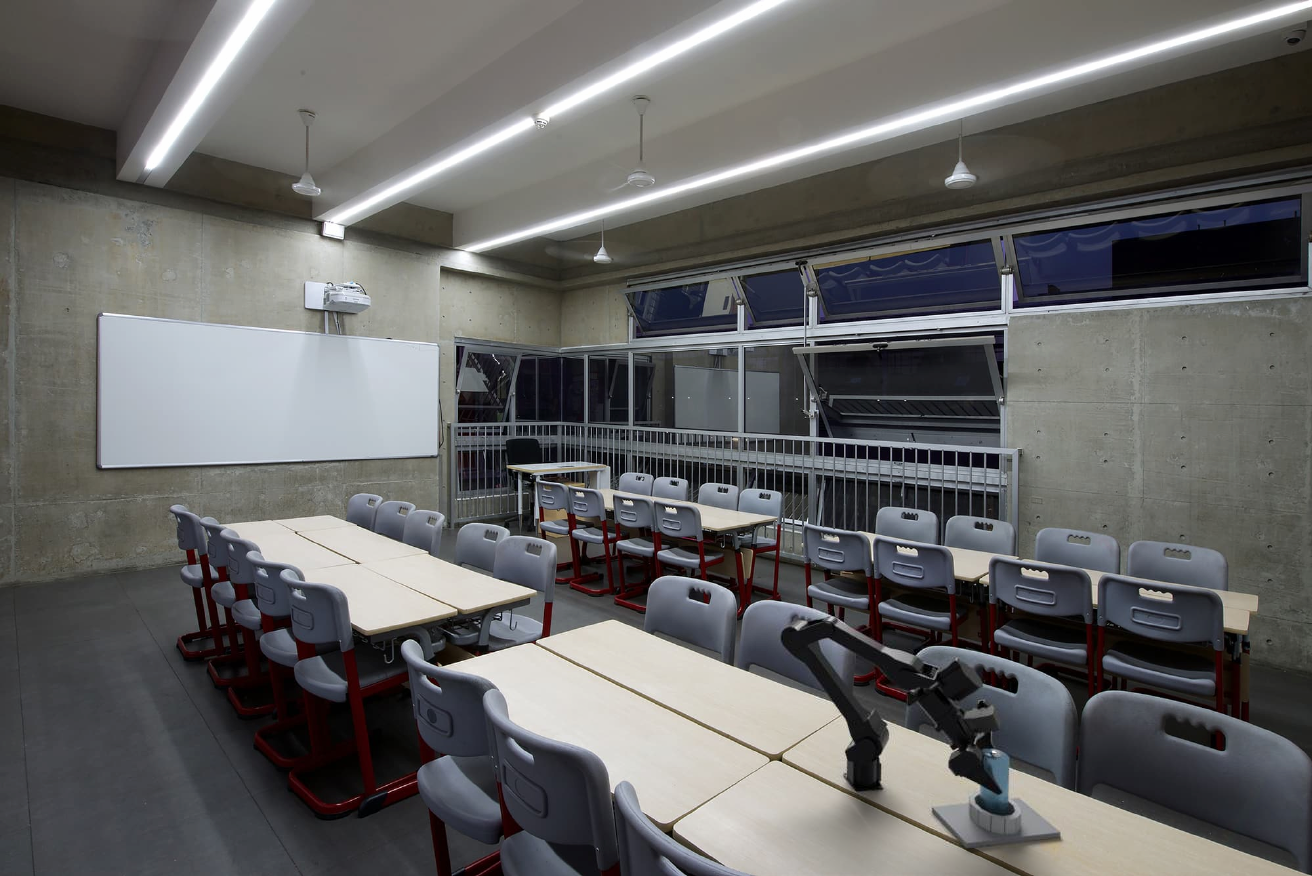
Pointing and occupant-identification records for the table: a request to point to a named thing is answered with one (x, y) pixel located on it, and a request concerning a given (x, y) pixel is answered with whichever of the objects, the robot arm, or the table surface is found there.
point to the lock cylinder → (1000, 771)
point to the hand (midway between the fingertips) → (1002, 782)
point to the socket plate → (989, 838)
